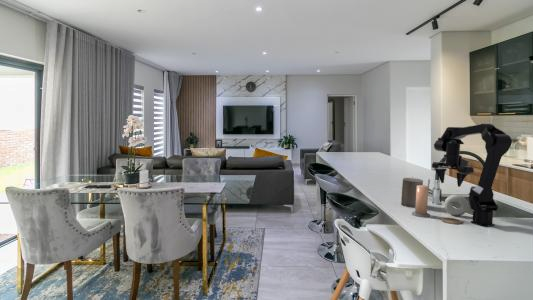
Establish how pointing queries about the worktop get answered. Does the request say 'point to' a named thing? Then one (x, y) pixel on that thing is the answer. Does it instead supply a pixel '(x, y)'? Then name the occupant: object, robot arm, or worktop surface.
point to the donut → (456, 211)
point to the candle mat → (420, 215)
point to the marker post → (421, 200)
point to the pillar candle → (410, 191)
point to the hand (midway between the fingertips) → (450, 184)
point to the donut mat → (451, 220)
